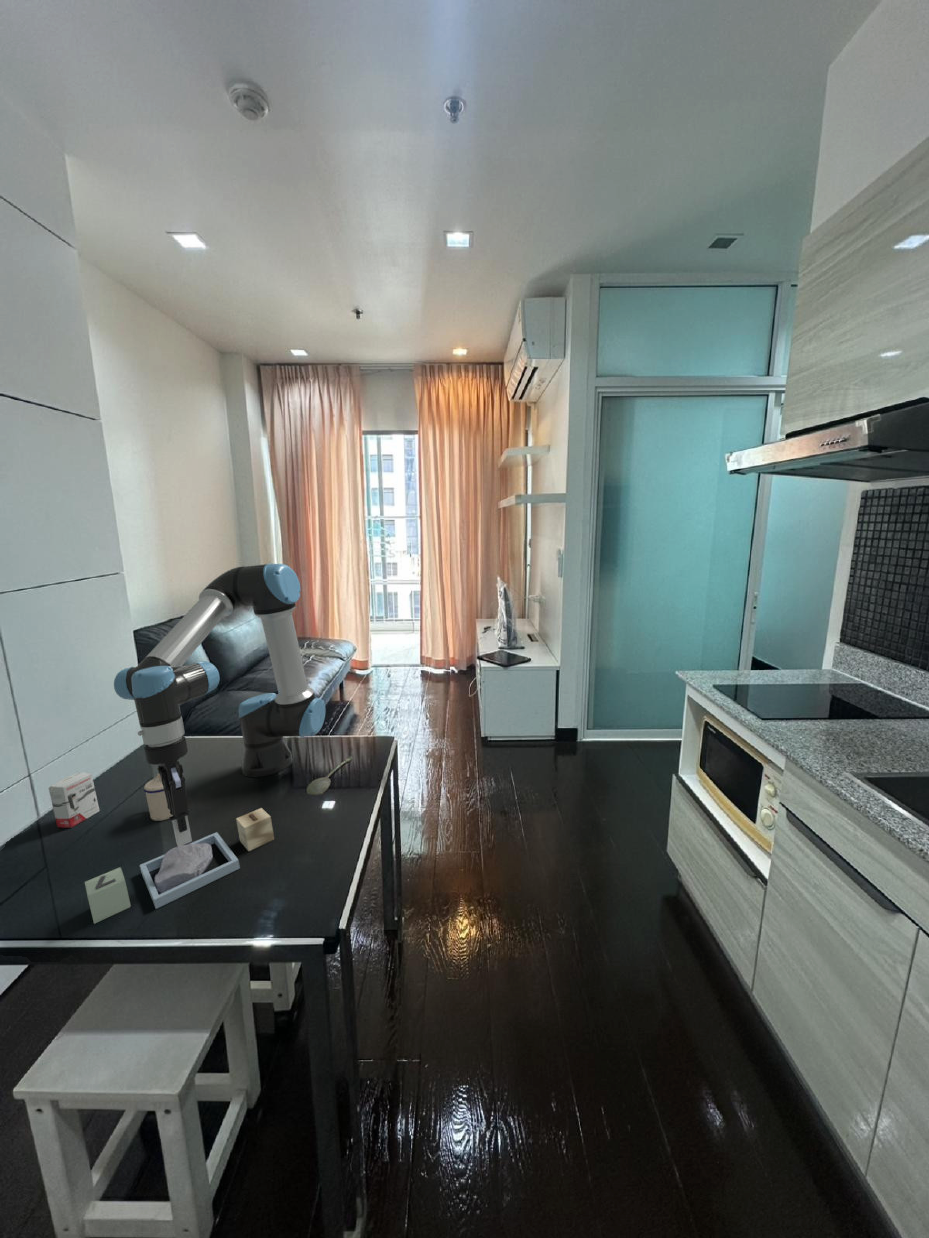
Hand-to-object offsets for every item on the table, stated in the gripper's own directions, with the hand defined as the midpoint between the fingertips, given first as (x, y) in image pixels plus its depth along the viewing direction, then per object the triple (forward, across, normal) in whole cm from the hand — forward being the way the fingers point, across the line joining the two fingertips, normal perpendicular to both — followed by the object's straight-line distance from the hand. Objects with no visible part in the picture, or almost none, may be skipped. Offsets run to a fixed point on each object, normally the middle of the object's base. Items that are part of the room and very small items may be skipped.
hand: (184, 842), depth 107 cm
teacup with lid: (+7, -35, +2) cm, 36 cm away
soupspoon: (+7, -16, +43) cm, 46 cm away
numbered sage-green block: (+7, 0, -14) cm, 16 cm away
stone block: (+7, 0, 0) cm, 7 cm away
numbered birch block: (+7, 0, +15) cm, 16 cm away
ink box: (+7, -51, -16) cm, 54 cm away
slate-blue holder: (+7, 0, 0) cm, 7 cm away
